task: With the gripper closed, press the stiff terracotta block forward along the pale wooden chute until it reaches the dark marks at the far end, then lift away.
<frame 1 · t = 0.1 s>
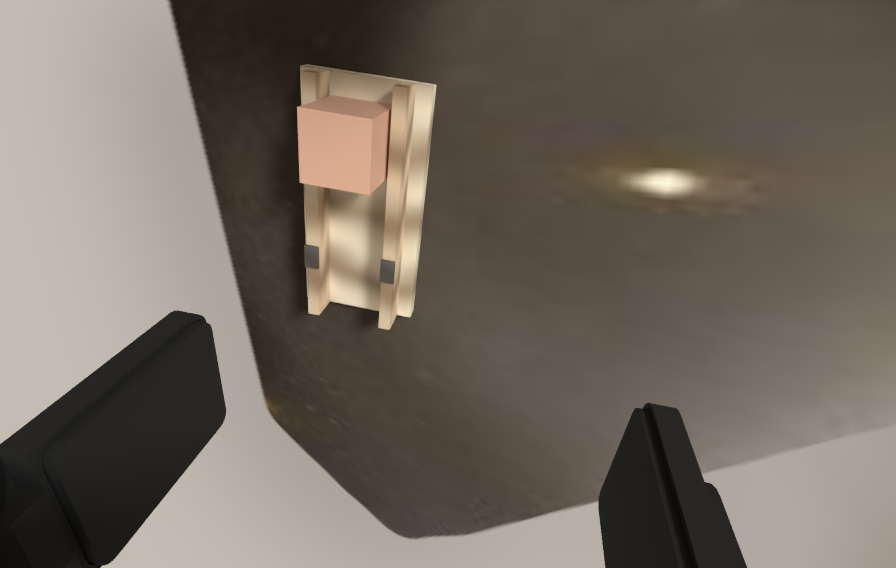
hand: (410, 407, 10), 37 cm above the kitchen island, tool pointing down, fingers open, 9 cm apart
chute: (366, 201, 48), on the kitchen island
jammed block: (350, 142, 40), point 5 cm above the kitchen island, slide at 0.0 cm
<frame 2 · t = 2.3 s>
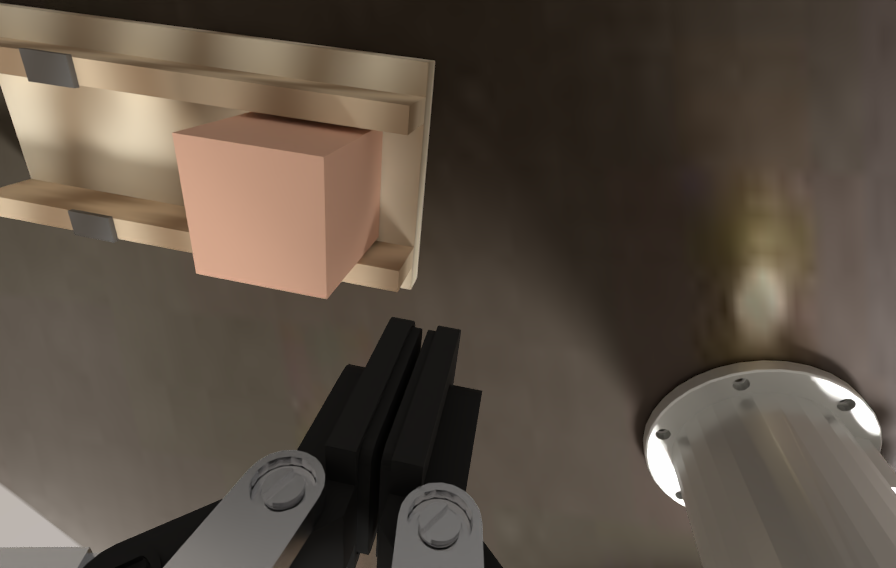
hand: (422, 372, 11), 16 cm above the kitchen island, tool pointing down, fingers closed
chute: (221, 148, 27), on the kitchen island
jammed block: (295, 194, 22), point 5 cm above the kitchen island, slide at 0.0 cm
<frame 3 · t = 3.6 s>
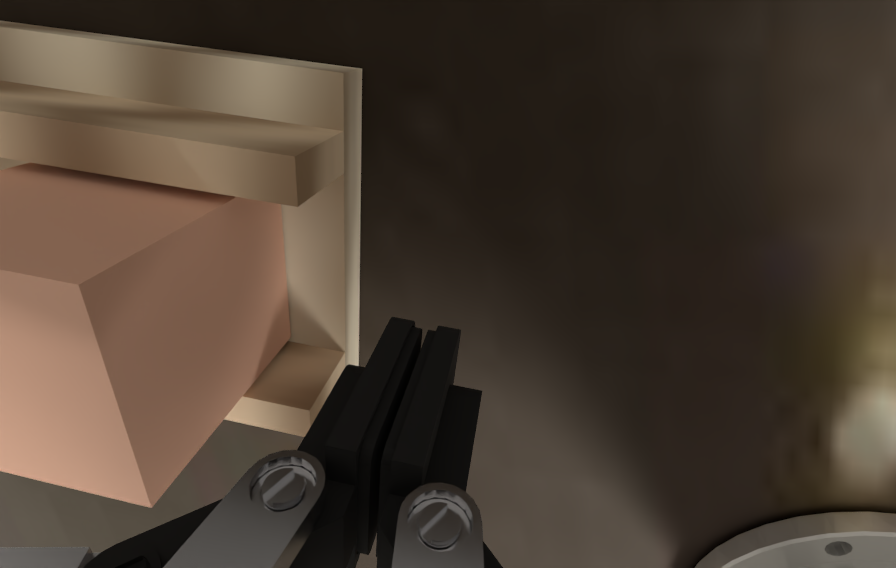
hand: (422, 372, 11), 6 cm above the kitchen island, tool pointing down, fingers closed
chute: (57, 200, 18), on the kitchen island
jammed block: (120, 300, 13), point 5 cm above the kitchen island, slide at 0.0 cm
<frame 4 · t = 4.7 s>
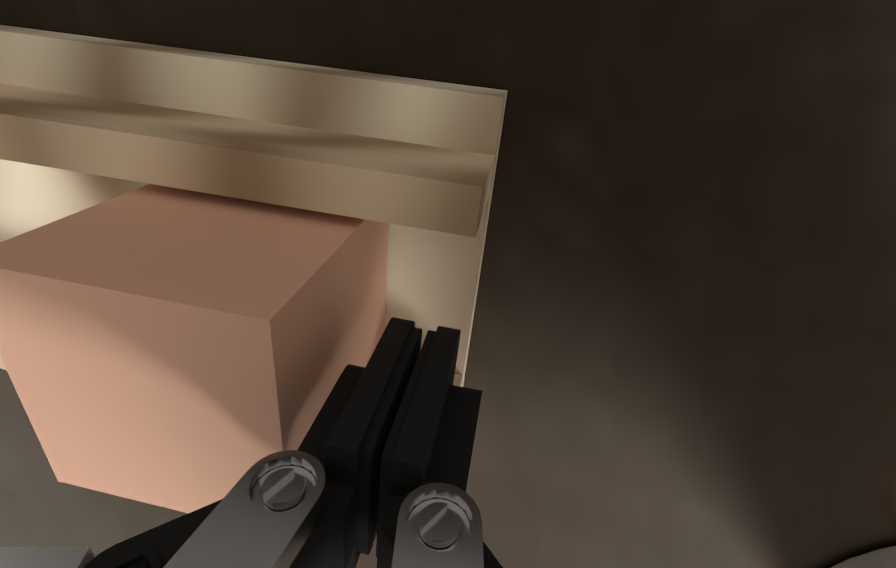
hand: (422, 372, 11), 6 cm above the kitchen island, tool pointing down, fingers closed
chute: (164, 219, 18), on the kitchen island
jammed block: (240, 323, 13), point 5 cm above the kitchen island, slide at 0.9 cm, touching gripper
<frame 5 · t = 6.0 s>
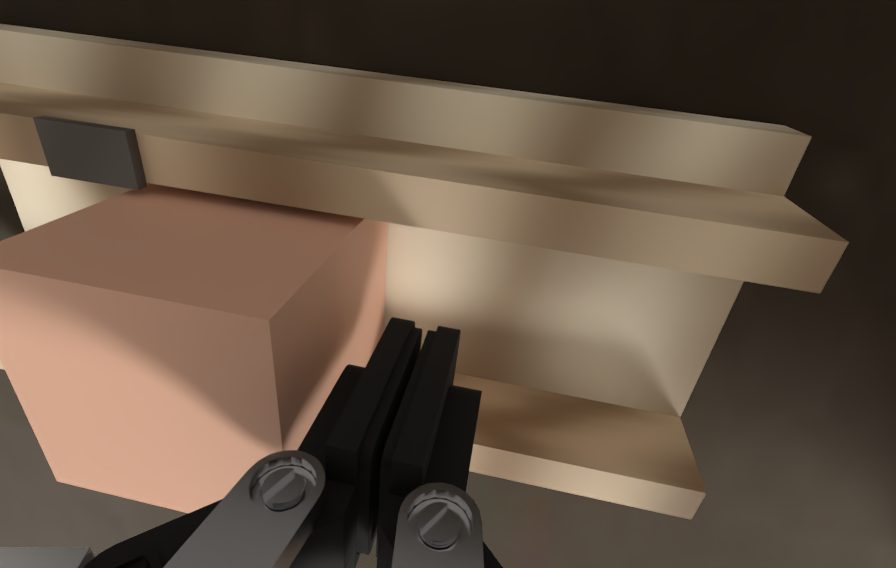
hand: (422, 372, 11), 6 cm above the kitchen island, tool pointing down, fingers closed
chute: (354, 252, 17), on the kitchen island
jammed block: (239, 322, 13), point 5 cm above the kitchen island, slide at 8.4 cm, touching gripper
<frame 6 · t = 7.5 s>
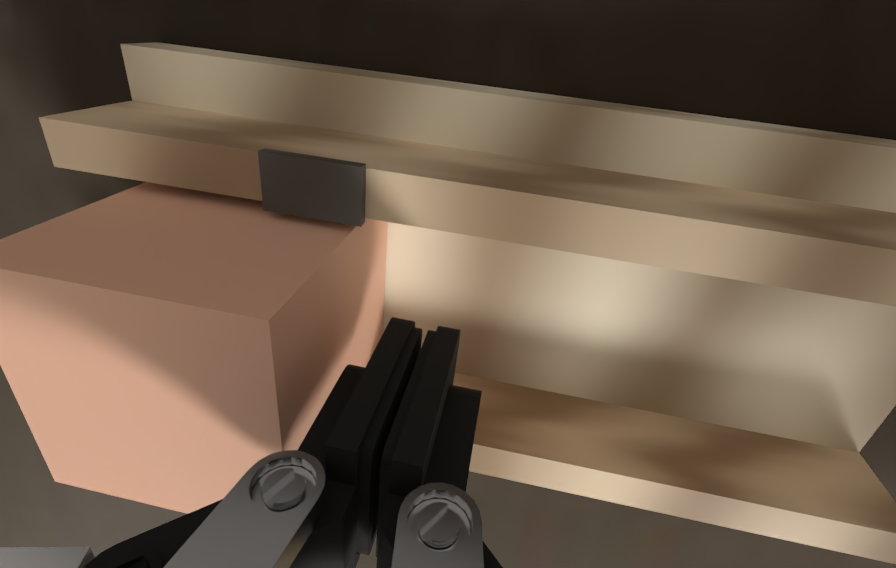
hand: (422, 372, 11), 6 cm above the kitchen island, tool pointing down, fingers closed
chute: (512, 279, 16), on the kitchen island
jammed block: (238, 322, 13), point 5 cm above the kitchen island, slide at 14.1 cm, touching gripper
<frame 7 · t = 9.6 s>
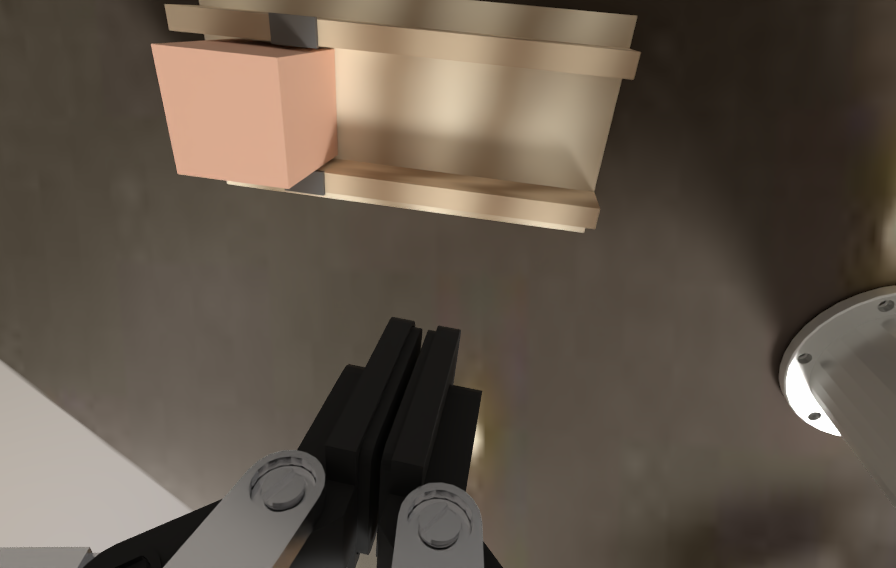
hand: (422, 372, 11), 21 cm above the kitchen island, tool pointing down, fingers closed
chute: (408, 108, 29), on the kitchen island
jammed block: (259, 108, 26), point 5 cm above the kitchen island, slide at 14.0 cm
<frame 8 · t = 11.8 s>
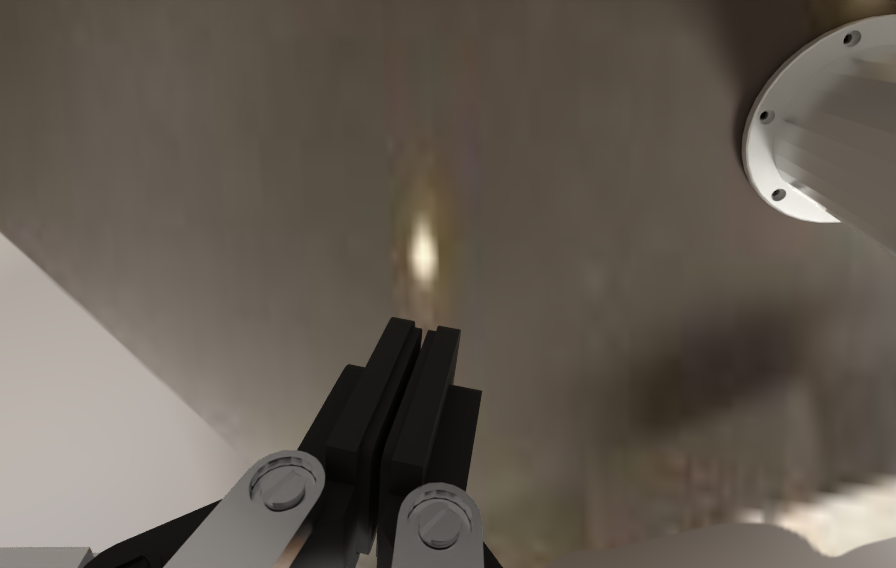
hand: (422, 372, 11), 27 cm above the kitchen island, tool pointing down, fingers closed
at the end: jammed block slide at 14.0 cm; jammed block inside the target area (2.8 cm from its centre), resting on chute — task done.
